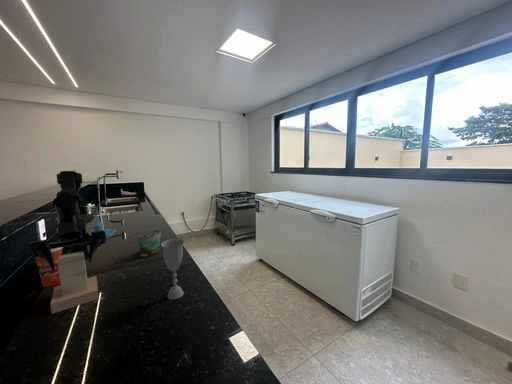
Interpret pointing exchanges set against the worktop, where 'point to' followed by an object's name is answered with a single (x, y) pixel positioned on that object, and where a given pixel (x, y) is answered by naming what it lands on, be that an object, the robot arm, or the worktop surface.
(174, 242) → the chalice
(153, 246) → the food container
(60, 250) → the paper cup
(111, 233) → the soap dispenser
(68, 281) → the pillar
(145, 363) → the worktop surface
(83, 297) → the plinth
